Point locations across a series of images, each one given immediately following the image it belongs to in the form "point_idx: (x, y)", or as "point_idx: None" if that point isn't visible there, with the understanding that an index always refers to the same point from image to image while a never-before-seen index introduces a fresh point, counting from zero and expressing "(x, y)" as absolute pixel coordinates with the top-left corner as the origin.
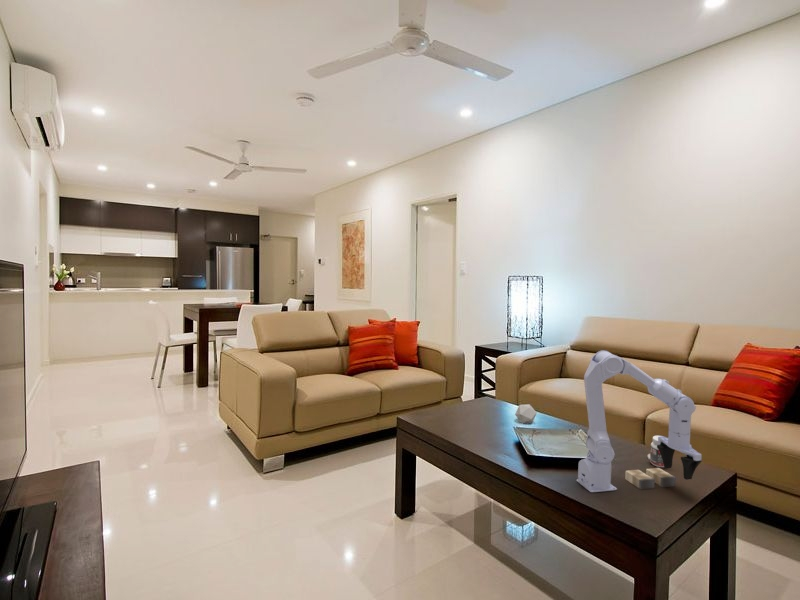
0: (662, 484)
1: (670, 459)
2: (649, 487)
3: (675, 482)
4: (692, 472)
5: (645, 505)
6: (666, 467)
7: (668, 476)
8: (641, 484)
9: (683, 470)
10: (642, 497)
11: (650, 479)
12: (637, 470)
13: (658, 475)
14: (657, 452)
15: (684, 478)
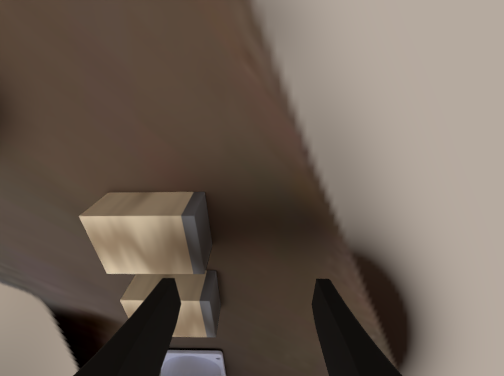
0: (209, 253)
1: (147, 342)
2: (216, 287)
3: (201, 202)
4: (351, 325)
5: (302, 338)
6: (179, 305)
7: (183, 239)
8: (217, 320)
9: (328, 371)
10: (264, 324)
11: (209, 311)
12: (129, 306)
13: (172, 269)
14: None
15: (313, 305)
